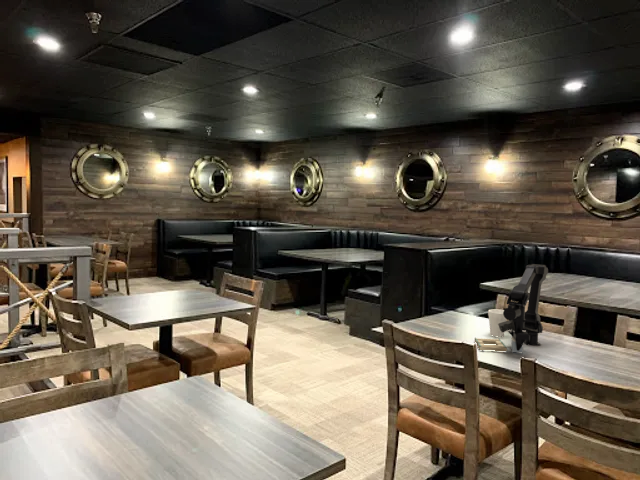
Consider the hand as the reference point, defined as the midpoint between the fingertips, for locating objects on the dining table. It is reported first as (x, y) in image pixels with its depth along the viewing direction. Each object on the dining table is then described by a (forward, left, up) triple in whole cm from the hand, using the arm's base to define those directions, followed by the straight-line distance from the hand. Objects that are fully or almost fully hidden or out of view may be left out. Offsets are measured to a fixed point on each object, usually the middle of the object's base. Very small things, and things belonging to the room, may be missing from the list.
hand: (516, 349), depth 227 cm
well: (-5, -11, -1) cm, 12 cm away
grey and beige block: (0, 0, -1) cm, 1 cm away
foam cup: (-26, -3, -2) cm, 26 cm away
